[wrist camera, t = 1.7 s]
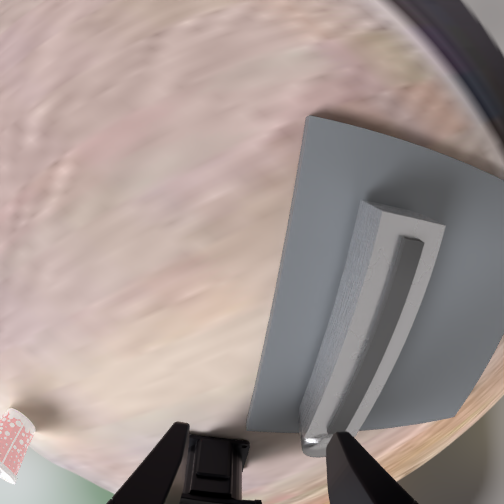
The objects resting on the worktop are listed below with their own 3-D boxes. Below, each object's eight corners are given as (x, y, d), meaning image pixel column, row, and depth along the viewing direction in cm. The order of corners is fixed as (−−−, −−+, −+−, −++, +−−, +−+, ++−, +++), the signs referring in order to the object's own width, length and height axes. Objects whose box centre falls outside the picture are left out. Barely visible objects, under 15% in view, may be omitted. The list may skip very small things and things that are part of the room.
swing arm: (335, 429, 22) (343, 459, 19) (290, 429, 22) (295, 461, 19) (418, 212, 16) (449, 227, 13) (360, 199, 16) (386, 213, 13)
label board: (450, 411, 25) (454, 418, 24) (246, 422, 24) (246, 432, 23) (540, 201, 18) (548, 204, 16) (306, 116, 16) (310, 114, 15)
